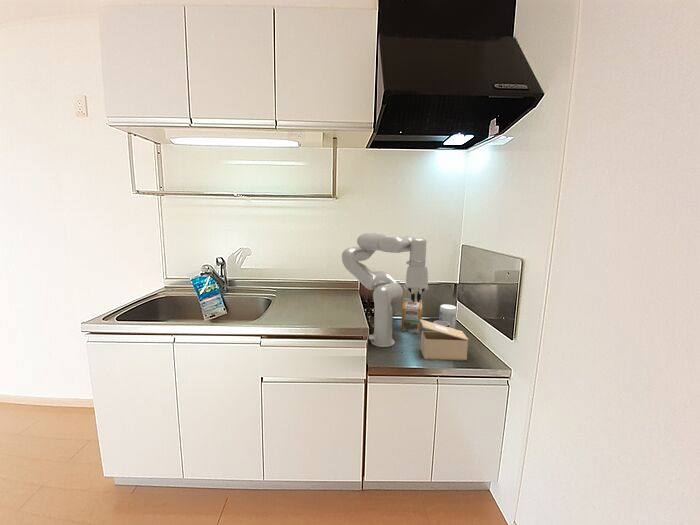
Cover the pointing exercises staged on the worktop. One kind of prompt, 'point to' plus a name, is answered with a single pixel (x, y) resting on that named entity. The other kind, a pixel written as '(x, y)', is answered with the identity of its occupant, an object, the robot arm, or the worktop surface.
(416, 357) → the worktop surface
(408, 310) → the printed food package
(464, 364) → the worktop surface
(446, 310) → the supplement tub
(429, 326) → the carton flap
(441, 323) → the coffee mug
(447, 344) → the carton
